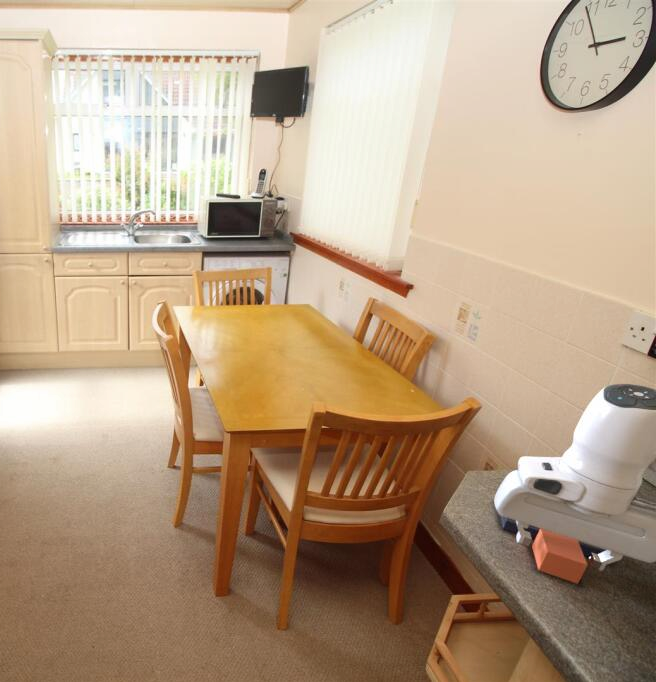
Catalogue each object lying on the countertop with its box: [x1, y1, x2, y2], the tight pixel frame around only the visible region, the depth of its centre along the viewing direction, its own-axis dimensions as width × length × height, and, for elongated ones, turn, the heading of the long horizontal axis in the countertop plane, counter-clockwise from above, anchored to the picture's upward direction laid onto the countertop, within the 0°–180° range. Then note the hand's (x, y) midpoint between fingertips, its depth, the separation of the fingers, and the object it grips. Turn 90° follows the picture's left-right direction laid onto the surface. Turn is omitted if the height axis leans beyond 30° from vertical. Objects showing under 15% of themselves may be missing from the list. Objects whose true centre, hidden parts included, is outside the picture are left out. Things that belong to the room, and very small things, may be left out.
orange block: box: [531, 529, 589, 585], centre depth 77 cm, size 6×5×4 cm
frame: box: [499, 515, 606, 558], centre depth 84 cm, size 15×8×2 cm, turn 61°
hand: (557, 554), depth 77 cm, fingers open, 8 cm apart
